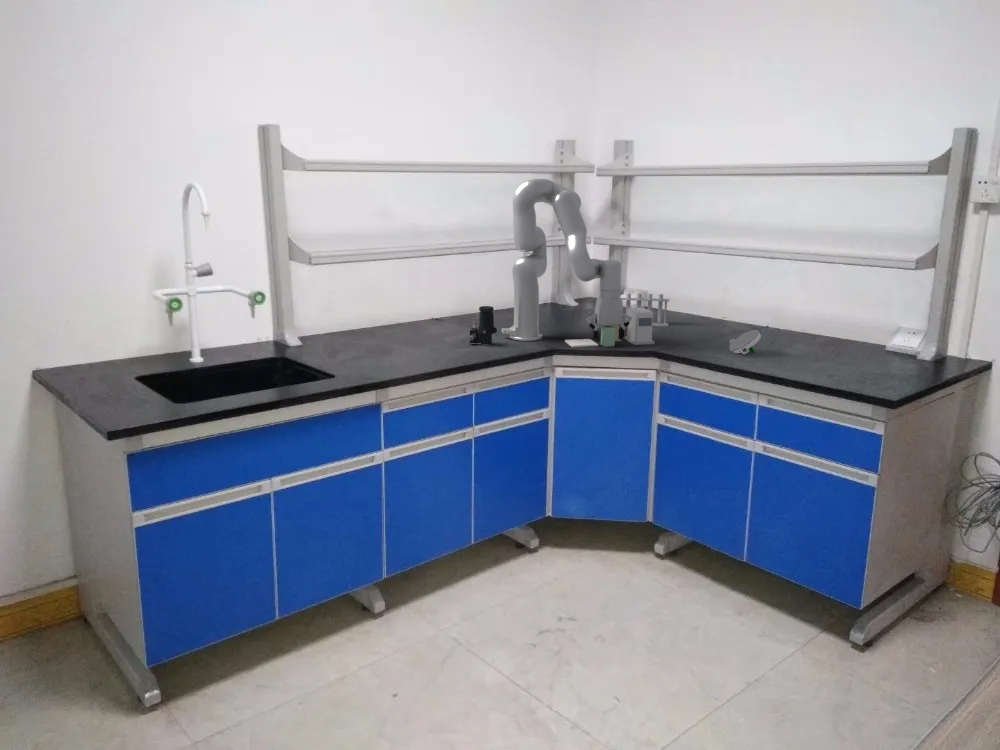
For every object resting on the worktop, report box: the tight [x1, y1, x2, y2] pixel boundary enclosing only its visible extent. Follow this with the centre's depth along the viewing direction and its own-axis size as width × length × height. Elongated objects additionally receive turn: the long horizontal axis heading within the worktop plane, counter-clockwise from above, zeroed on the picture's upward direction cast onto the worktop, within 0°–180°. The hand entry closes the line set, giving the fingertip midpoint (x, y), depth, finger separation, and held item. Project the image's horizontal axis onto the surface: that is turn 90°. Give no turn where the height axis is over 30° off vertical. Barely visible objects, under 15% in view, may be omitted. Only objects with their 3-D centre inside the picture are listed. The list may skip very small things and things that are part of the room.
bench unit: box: [623, 307, 656, 346], centre depth 293 cm, size 8×11×12 cm
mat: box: [564, 338, 599, 348], centre depth 290 cm, size 10×10×1 cm
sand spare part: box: [608, 325, 623, 342], centre depth 296 cm, size 4×4×7 cm
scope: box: [468, 305, 498, 345], centre depth 288 cm, size 8×14×10 cm
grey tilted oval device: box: [728, 329, 762, 355], centre depth 276 cm, size 15×8×11 cm
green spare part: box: [600, 325, 616, 347], centre depth 287 cm, size 4×4×7 cm
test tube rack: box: [621, 292, 671, 327], centre depth 325 cm, size 25×4×13 cm, turn 82°
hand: (608, 340), depth 287 cm, fingers open, 9 cm apart
